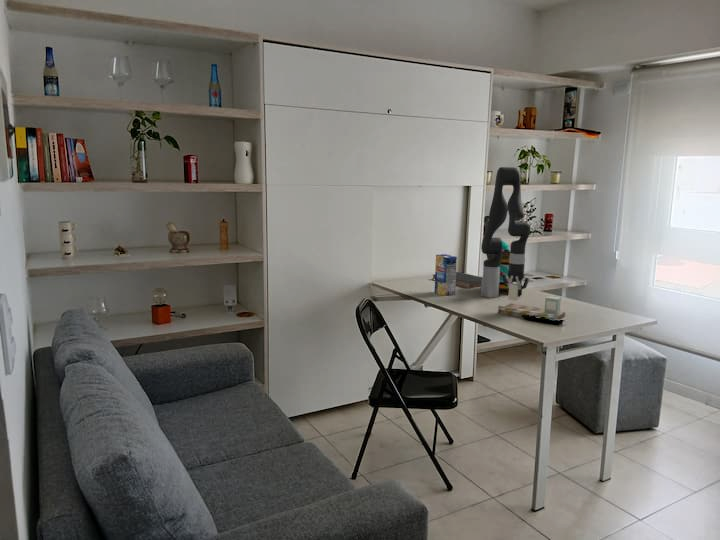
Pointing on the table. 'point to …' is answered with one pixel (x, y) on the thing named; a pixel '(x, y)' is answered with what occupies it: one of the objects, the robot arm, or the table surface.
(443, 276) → the beverage box
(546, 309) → the green carton
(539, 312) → the walnut shelf
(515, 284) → the cream carton
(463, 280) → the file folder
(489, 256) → the decorative lantern
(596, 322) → the table surface
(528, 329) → the table surface
